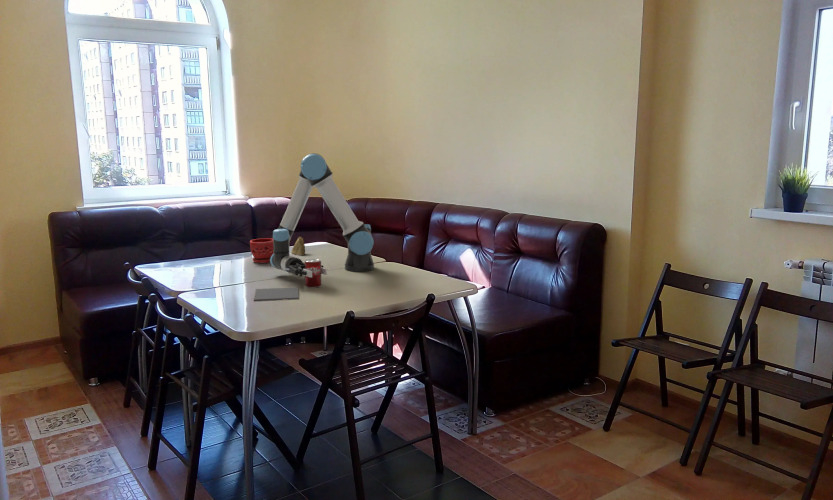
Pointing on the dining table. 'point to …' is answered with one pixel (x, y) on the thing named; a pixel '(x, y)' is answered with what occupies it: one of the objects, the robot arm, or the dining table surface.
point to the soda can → (313, 273)
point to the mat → (276, 294)
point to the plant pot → (262, 254)
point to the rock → (299, 247)
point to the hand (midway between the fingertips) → (319, 273)
